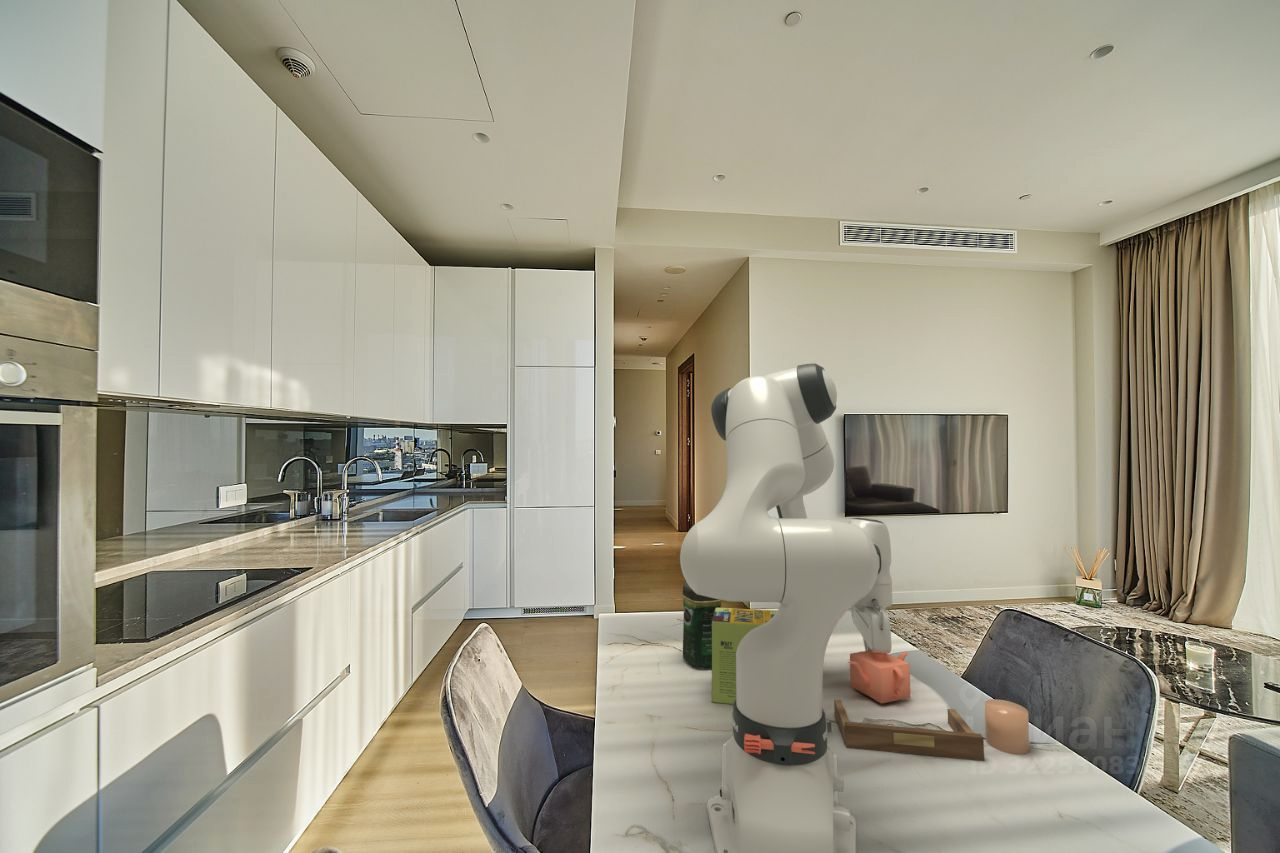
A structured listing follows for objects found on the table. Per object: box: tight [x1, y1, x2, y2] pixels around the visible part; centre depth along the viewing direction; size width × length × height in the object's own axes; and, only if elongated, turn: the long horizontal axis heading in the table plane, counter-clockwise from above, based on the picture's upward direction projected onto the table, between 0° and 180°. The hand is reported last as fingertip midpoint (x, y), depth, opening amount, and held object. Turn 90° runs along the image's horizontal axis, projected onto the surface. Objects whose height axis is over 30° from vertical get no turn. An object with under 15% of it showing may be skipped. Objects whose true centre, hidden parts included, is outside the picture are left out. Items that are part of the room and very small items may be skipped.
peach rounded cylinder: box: [983, 698, 1031, 756], centre depth 90 cm, size 6×6×6 cm
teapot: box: [847, 650, 911, 704], centre depth 108 cm, size 12×15×8 cm
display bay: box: [833, 699, 985, 762], centre depth 92 cm, size 12×20×4 cm, turn 79°
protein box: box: [711, 607, 778, 705], centre depth 108 cm, size 10×15×16 cm
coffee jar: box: [682, 581, 723, 670], centre depth 125 cm, size 10×8×19 cm
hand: (871, 660), depth 116 cm, fingers closed
